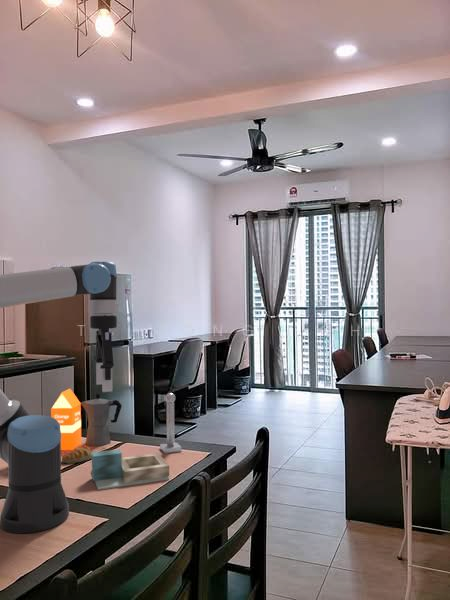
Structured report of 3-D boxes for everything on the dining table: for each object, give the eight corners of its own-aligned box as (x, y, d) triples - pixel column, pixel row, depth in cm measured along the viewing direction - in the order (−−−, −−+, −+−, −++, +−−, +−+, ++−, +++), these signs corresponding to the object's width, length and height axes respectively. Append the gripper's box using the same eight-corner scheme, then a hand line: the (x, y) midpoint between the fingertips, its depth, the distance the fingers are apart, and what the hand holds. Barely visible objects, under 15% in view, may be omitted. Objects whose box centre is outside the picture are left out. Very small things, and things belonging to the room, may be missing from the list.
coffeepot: (75, 446, 175) (75, 395, 175) (85, 438, 184) (84, 391, 184) (118, 446, 173) (117, 396, 174) (125, 439, 183) (124, 391, 183)
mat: (98, 490, 133) (97, 488, 133) (91, 471, 148) (91, 469, 148) (169, 479, 140) (169, 478, 140) (155, 463, 155) (155, 461, 155)
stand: (164, 453, 165) (163, 395, 165) (160, 448, 171) (159, 392, 171) (181, 451, 167) (180, 393, 167) (176, 446, 173) (176, 390, 173)
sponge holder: (95, 486, 134) (95, 461, 134) (90, 471, 146) (90, 448, 146) (169, 476, 142) (169, 452, 142) (158, 462, 154) (158, 440, 154)
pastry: (68, 466, 153) (68, 454, 153) (57, 462, 158) (57, 450, 158) (94, 459, 160) (94, 447, 160) (82, 455, 165) (82, 444, 165)
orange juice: (51, 450, 170) (50, 392, 170) (61, 442, 179) (59, 388, 179) (73, 449, 170) (72, 392, 170) (82, 442, 179) (80, 388, 179)
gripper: (123, 315, 132) (124, 393, 131) (110, 313, 155) (110, 380, 155) (95, 315, 129) (96, 396, 129) (85, 314, 152) (86, 382, 152)
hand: (104, 387), depth 142 cm, fingers open, 13 cm apart
